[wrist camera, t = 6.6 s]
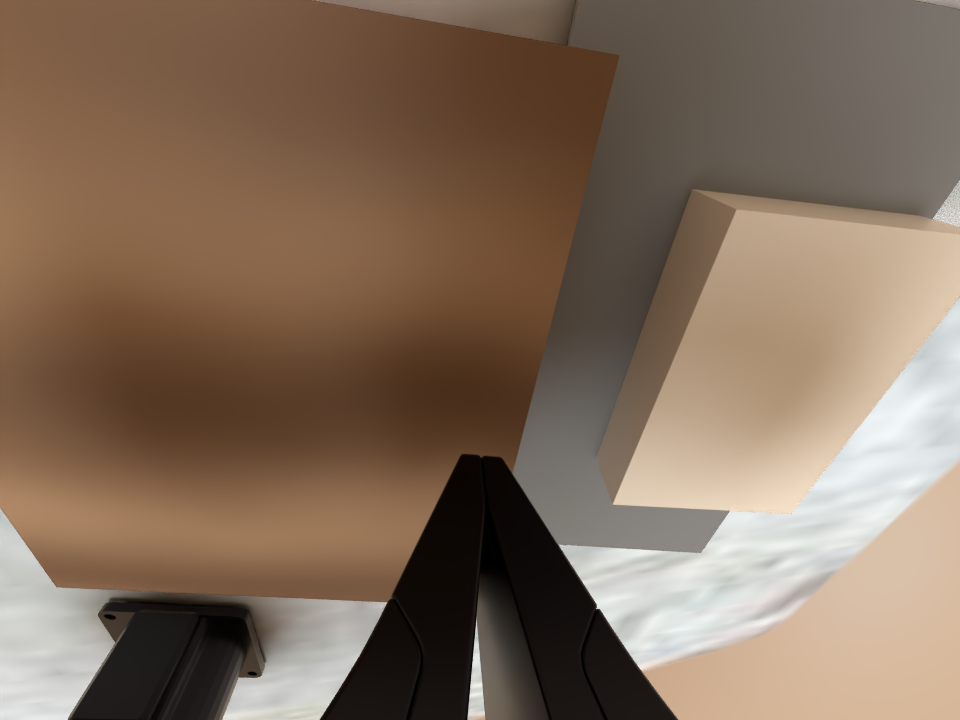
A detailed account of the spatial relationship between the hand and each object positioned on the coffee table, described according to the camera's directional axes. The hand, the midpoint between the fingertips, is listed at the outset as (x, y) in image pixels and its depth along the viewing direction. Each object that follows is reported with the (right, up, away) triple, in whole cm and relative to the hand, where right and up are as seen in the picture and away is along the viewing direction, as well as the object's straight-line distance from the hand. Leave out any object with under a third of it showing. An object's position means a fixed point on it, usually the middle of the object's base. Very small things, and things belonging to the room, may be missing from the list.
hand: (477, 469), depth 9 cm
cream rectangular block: (+8, +1, +3) cm, 8 cm away
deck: (-5, +3, +4) cm, 7 cm away
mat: (+6, +2, +5) cm, 8 cm away
